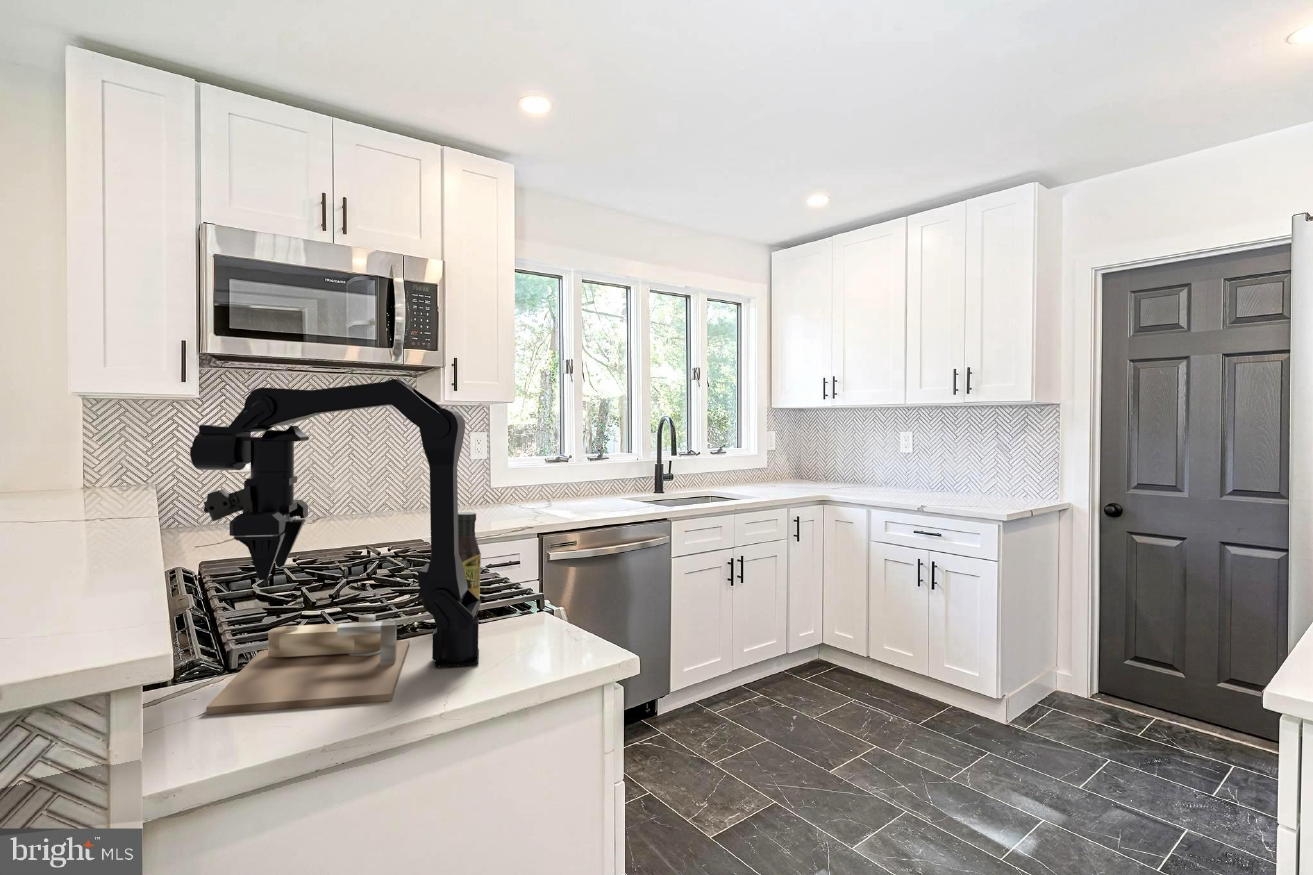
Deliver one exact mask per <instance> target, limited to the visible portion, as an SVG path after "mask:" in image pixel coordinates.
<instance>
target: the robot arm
mask: <svg viewBox="0 0 1313 875" xmlns="http://www.w3.org/2000/svg"><path fill="white" fill-rule="evenodd" d="M388 406H392V407H394V408H395V409H396V410H397V411H399V412H400V414H402V415H403V416H404V417H405V418H406V419H407V420H408V421H410V422H411V423H412V424H413V425H415V426H417V428H418V429H419V433H420V440H421V444H422V449H423V452H424V454H425V457H426V460H427V463H428V468H429V504H430V505H429V507H430V508H429V509H430V510H429V511H430V560H429V563H428V562H427V563H426V564H425V565H424V566H422V568H420V569H419V570H418V571H417V579H418V583H419V592H418V594H417V595H418V596H417V599H421V602H422V606H423V609H424V610H425V611H427V613H429V614H430V615H431V616H432V617H433V619H434V623H435V625H436V628H435V629H433V632H432V644H431V646H432V648H431V649H432V650H431V651H432V652H431V655H432V656H431V657H432V658H431V659H432V661H434V668H451V667H466V666H467V667H468V666H477V665H479V663H480V662H479V660H480V659H479V658H480V649H479V627H480V625H479V620H480V619H479V618H480V617H479V616H475V614H477V612H478V613H479V609H480V606H481V604H482V601H481V599H480V600H479V599H478V598H477V597H476V596H475V595H474V594H473V593H472V592H471V591H470V590H469V589H468V587H467V581H466V576H465V571H464V567H463V564H462V561H461V558H460V555H459V551H458V512H459V510H458V509H459V506H458V505H459V502H458V501H459V500H458V499H459V498H458V495H459V493H458V491H459V490H458V488H459V487H458V465H459V464H458V463H459V460H460V456H461V453H462V448H463V444H464V436H465V432H466V420H465V418H464V416H463V415H462V414H460V412H458V410H455V409H453V408H449V407H442V406H440V405H439V404H438V403H436V402H435V401H434V400H432V399H431V398H429V397H428V396H426V395H425V394H423V393H422V392H421V391H420V390H417V389H416V388H414V387H413V386H412V384H410V383H409V381H406V380H402V379H398V378H391V379H389V380H386V381H380V382H379V381H378V382H371V383H362V384H352V385H345V386H343V385H342V386H336V387H327V388H319V389H297V388H278V387H277V388H274V387H259V388H255V389H253V390H251V391H250V392H249V394H248V395H247V397H246V399H245V402H244V407H243V408H242V410H240V412H239V413H238V414H237V416H236V417H235V418H234V420H232V422H231V423H230V424H229V425H228V426H220V425H216V424H200V425H199V426H198V433H197V434H196V435H195V437H194V439H193V442H192V445H191V447H190V449H189V456H190V461H191V463H192V465H193V467H194V468H195V469H197V470H199V471H200V470H201V471H242V470H243V469H244V468H245V467H246V466H247V464H250V477H248V478H246V480H244V482H243V489H240V490H237V491H232V492H230V493H228V492H226V491H225V490H224V489H219V490H215V491H212V492H209V493H207V496H206V500H205V501H204V502H203V505H204V507H203V511H204V513H206V514H209V516H210V518H211V521H212V522H216V521H219V520H222V518H225V517H228V516H230V515H231V516H232V515H233V514H235V513H236V514H237V513H238V512H241V511H242V513H240V514H237V515H236V516H235V517H234V518H232V519H231V520H230V521H229V536H231V537H233V539H234V540H235V541H238V542H240V543H242V544H243V545H245V546H246V547H247V549H248V552H249V554H250V557H251V560H252V563H253V566H254V570H255V572H256V576H257V578H258V580H259V581H268V579H269V577H270V574H271V573H272V572H271V571H272V570H273V567H274V563H275V566H276V567H284V566H285V565H286V562H287V560H288V557H289V556H290V554H291V551H292V549H293V547H294V545H295V543H296V541H297V539H298V536H299V534H300V532H301V530H302V528H303V526H304V524H305V523H306V519H305V518H307V517H308V516H309V504H308V503H306V502H305V501H304V500H303V499H295V498H294V496H295V494H294V493H295V487H294V485H295V484H297V483H298V475H295V474H294V473H295V472H294V471H295V465H294V464H295V456H294V455H295V442H306V441H309V440H310V437H309V435H307V434H306V433H304V432H303V431H302V430H301V428H300V427H299V426H298V425H291V424H295V423H298V422H301V421H305V420H307V419H311V418H313V417H316V416H319V415H323V414H331V413H338V412H339V413H340V412H347V411H353V410H354V411H355V410H356V411H357V410H363V409H370V408H371V409H372V408H380V407H388ZM287 425H290V426H289V427H288V428H287V429H283V430H281V429H279V430H278V429H277V430H276V429H273V428H274V427H283V426H287ZM272 429H273V430H272ZM256 432H260V433H263V434H262V436H252V433H256ZM297 517H299V518H300V519H299V518H297ZM477 615H478V614H477ZM474 616H475V617H474Z"/></svg>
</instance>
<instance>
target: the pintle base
mask: <svg viewBox="0 0 1313 875" xmlns="http://www.w3.org/2000/svg"><path fill="white" fill-rule="evenodd" d="M375 621H376V614H373V613H370V614H369V613H368V614H362V615H359V617H358V622H345V623H338V624H339V626H338V627H337V636H343V635H362V634H381V644H380V650H379V651H376V652H372V653H363V654H359V653H344V654H327V655H309V656H292V657H270V656H269V655H268V650H264V651H260V650H259V651H258V652H257V653H256V654H255V655H254V656H253V657H252V658H251V660H249V661H248V663H247V664H246V665H245V666H244V667H243V668H242V669H241V670H240V671H239V672H238V673H237V674H236V675H235V676H234V678H232V679H231V681H230V682H228V683H227V685H226V686H225V687H224V688H223V689H221V691H220V692H219V693H218V694H217V695H216V696H215V697H214V698H213V699H212V700H211V702H210V703H208V705H206V708H205V709H206V710H205V711H206V712H205V713H206V716H209V715H221V714H233V713H234V714H235V713H245V712H246V713H247V712H260V711H261V712H262V711H272V710H273V711H274V710H288V709H301V708H303V709H304V708H314V707H315V708H316V707H326V706H327V707H329V706H341V705H354V704H355V705H357V704H368V703H381V702H382V703H383V702H391V701H392V700H393V697H394V693H395V691H396V688H397V685H398V682H399V678H400V677H401V672H402V670H403V667H404V664H405V660H406V658H407V655H408V651H409V649H410V645H411V644H410V639H404V640H402V639H401V640H397V630H398V626H397V625H398V624H397V620H387V621H377V622H375Z"/></svg>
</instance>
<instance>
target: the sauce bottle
mask: <svg viewBox="0 0 1313 875" xmlns="http://www.w3.org/2000/svg"><path fill="white" fill-rule="evenodd" d="M476 521H477V513H476V512H472V511H461V512H460V511H458V551H459V555H460V558H461V561H462V564H463V567H464V571H465V576H466V581H467V587H468V589H469V590H470V591H471V592H472V593H473V594H474V595H475V596H476V597H477V598H478V599H479V600H480V601H481V599H480V597H481V596H480V594H481V590H480V588H481V564H482V563H481V562H482V552H481V551H480V550H481V549H480V547H479V543H478V540H477V537H476ZM478 614H479V611H478V612H477V614H475V616H474V617H477V615H478Z"/></svg>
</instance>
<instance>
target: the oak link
mask: <svg viewBox="0 0 1313 875" xmlns="http://www.w3.org/2000/svg"><path fill="white" fill-rule="evenodd" d="M375 622H378V621H377V620H375ZM339 624H340V623H329V624H328V623H324V624H305V625H302V624H301V625H285V626H283V625H282V626H279V627H274V628H272V629H270V630H268V634H267V635H268V636H267V638H268V644H267V645H268V646H267V648H268V655H269V656H270V657H292V656H309V655H327V654H344V653H359V654H363V653H372V652H376V651H379V650H380V644H381V634H362V635H343V636H337V627H338V626H339Z"/></svg>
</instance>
